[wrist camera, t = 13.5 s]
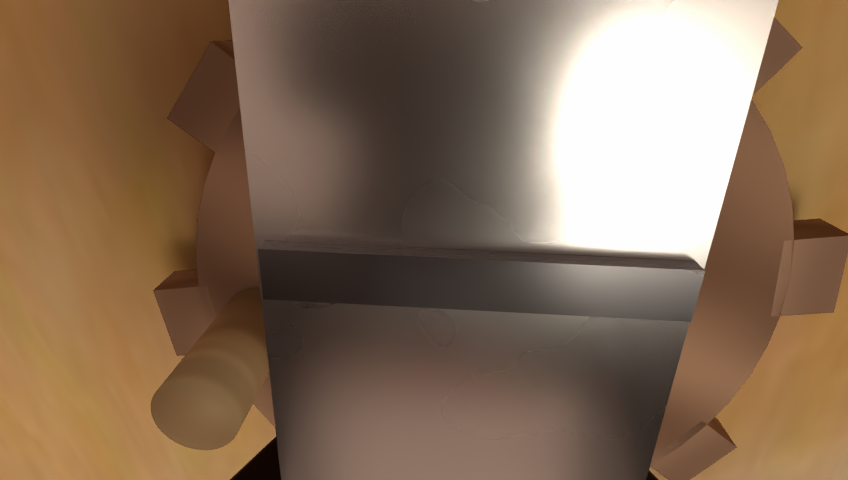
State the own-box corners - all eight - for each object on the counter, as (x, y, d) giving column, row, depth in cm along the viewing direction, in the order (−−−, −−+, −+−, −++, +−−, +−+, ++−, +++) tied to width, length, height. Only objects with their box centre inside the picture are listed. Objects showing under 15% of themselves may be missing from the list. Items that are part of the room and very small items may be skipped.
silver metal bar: (631, -94, 7) (866, -250, 3) (512, 637, 13) (538, 893, 9) (334, -100, 7) (185, -259, 3) (358, 625, 13) (320, 873, 9)
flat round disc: (435, -306, 13) (420, -606, 7) (961, 244, 17) (1227, 360, 11) (71, 311, 20) (-87, 431, 14) (503, 573, 25) (519, 744, 19)
